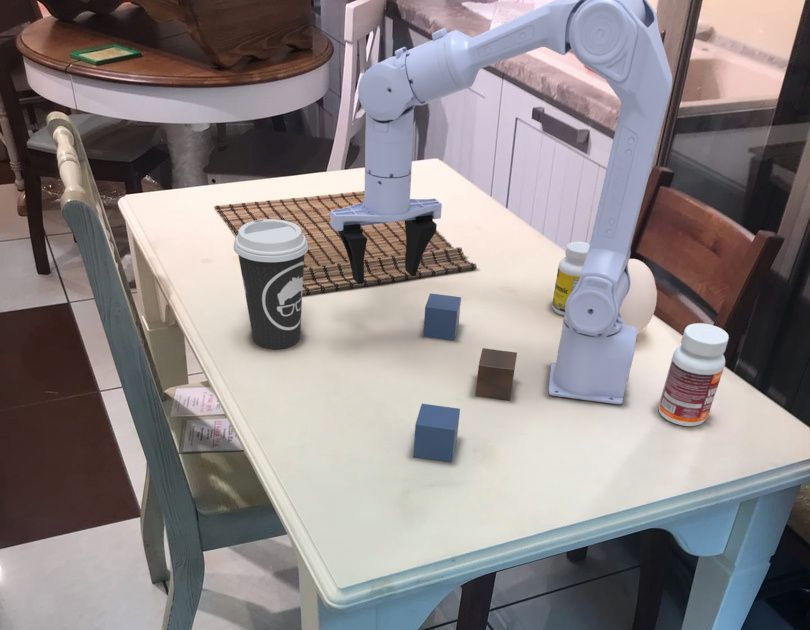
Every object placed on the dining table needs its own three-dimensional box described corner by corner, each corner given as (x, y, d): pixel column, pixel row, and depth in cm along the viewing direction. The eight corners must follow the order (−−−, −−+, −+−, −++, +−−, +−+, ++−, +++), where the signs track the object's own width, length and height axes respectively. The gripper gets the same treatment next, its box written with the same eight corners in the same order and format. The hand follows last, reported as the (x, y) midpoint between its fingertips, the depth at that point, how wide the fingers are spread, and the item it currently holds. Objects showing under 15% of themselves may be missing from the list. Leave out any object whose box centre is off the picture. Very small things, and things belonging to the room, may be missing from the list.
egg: (651, 353, 118) (672, 275, 110) (590, 349, 118) (607, 271, 110) (640, 324, 124) (659, 249, 117) (582, 321, 124) (597, 245, 116)
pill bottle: (707, 431, 103) (735, 349, 96) (657, 423, 104) (681, 341, 97) (705, 405, 108) (732, 325, 100) (657, 398, 109) (680, 317, 101)
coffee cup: (308, 320, 120) (304, 216, 110) (314, 353, 113) (311, 244, 103) (240, 323, 119) (231, 217, 109) (242, 356, 112) (232, 246, 102)
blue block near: (456, 440, 99) (460, 408, 96) (451, 462, 96) (455, 429, 93) (419, 435, 100) (421, 403, 97) (413, 457, 96) (415, 424, 93)
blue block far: (458, 326, 121) (461, 296, 118) (454, 340, 118) (457, 310, 115) (427, 322, 122) (430, 293, 119) (423, 336, 118) (425, 307, 115)
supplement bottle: (546, 302, 128) (557, 239, 122) (579, 301, 129) (592, 238, 123) (557, 318, 124) (569, 254, 118) (592, 317, 125) (605, 253, 119)
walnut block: (512, 382, 110) (517, 352, 107) (509, 400, 106) (514, 369, 103) (478, 378, 110) (482, 347, 107) (474, 396, 107) (478, 365, 104)
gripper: (427, 155, 107) (421, 258, 116) (320, 165, 102) (322, 271, 111) (452, 173, 102) (443, 278, 111) (341, 184, 97) (341, 294, 106)
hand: (384, 276), depth 111 cm, fingers open, 7 cm apart
